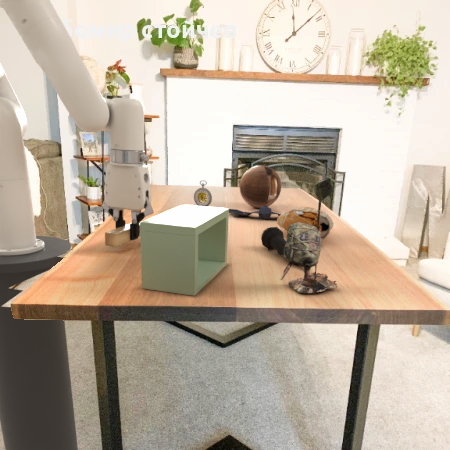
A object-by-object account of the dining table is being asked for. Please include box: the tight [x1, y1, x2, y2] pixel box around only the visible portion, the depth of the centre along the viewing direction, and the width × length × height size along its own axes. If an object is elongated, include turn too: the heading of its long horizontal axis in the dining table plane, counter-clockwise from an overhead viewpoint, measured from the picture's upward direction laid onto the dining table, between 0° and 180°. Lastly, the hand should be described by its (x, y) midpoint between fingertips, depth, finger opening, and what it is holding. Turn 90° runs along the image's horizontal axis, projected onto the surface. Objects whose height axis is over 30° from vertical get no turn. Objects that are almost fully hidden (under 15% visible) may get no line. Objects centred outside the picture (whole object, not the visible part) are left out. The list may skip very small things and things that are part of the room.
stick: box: [104, 222, 140, 248], centre depth 106 cm, size 3×16×3 cm, turn 164°
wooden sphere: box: [239, 164, 282, 209], centre depth 160 cm, size 15×15×15 cm
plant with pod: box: [280, 176, 338, 294], centre depth 79 cm, size 8×11×20 cm
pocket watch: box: [193, 180, 213, 207], centre depth 150 cm, size 8×8×10 cm
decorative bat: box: [229, 205, 282, 220], centre depth 144 cm, size 30×4×10 cm
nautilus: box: [276, 206, 335, 240], centre depth 118 cm, size 8×22×15 cm
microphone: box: [260, 226, 303, 268], centre depth 101 cm, size 6×6×20 cm
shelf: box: [139, 203, 230, 297], centre depth 85 cm, size 10×20×12 cm, turn 164°
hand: (127, 237), depth 106 cm, fingers closed on stick, 2 cm apart
